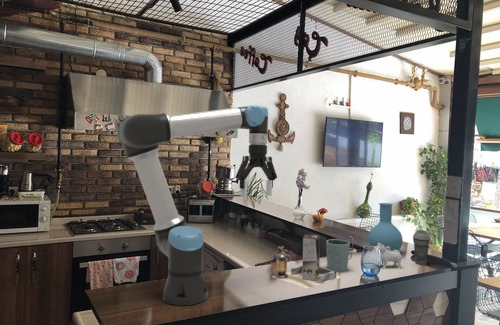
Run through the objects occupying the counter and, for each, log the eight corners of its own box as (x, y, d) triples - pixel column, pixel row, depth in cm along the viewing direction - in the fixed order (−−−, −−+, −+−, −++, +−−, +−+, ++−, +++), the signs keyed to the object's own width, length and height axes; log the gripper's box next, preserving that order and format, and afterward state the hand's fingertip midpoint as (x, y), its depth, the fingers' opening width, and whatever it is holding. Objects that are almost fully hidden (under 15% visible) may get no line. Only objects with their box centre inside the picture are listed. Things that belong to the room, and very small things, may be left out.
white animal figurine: (370, 265, 175) (370, 242, 175) (397, 265, 176) (398, 241, 176) (374, 269, 170) (375, 244, 170) (403, 268, 171) (403, 244, 171)
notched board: (306, 291, 141) (306, 281, 141) (271, 278, 154) (271, 270, 154) (342, 279, 155) (343, 270, 155) (308, 268, 169) (308, 260, 169)
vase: (366, 254, 196) (367, 204, 195) (369, 247, 211) (370, 201, 210) (402, 257, 189) (402, 206, 189) (402, 250, 205) (403, 202, 204)
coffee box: (318, 281, 149) (319, 239, 149) (301, 279, 151) (302, 238, 150) (319, 274, 158) (320, 234, 158) (303, 272, 160) (304, 233, 159)
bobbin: (281, 279, 151) (281, 257, 151) (272, 276, 155) (272, 254, 154) (290, 276, 154) (290, 255, 154) (281, 273, 158) (281, 252, 158)
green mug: (337, 264, 176) (338, 238, 176) (354, 270, 168) (355, 242, 167) (320, 267, 171) (321, 240, 170) (337, 273, 162) (338, 245, 162)
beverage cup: (422, 267, 174) (423, 222, 173) (408, 263, 180) (409, 219, 180) (433, 264, 178) (433, 221, 177) (418, 261, 184) (419, 218, 183)
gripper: (239, 142, 148) (237, 198, 149) (286, 145, 164) (284, 196, 164) (227, 143, 154) (226, 196, 154) (274, 145, 170) (272, 194, 170)
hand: (256, 196), depth 159 cm, fingers open, 13 cm apart
